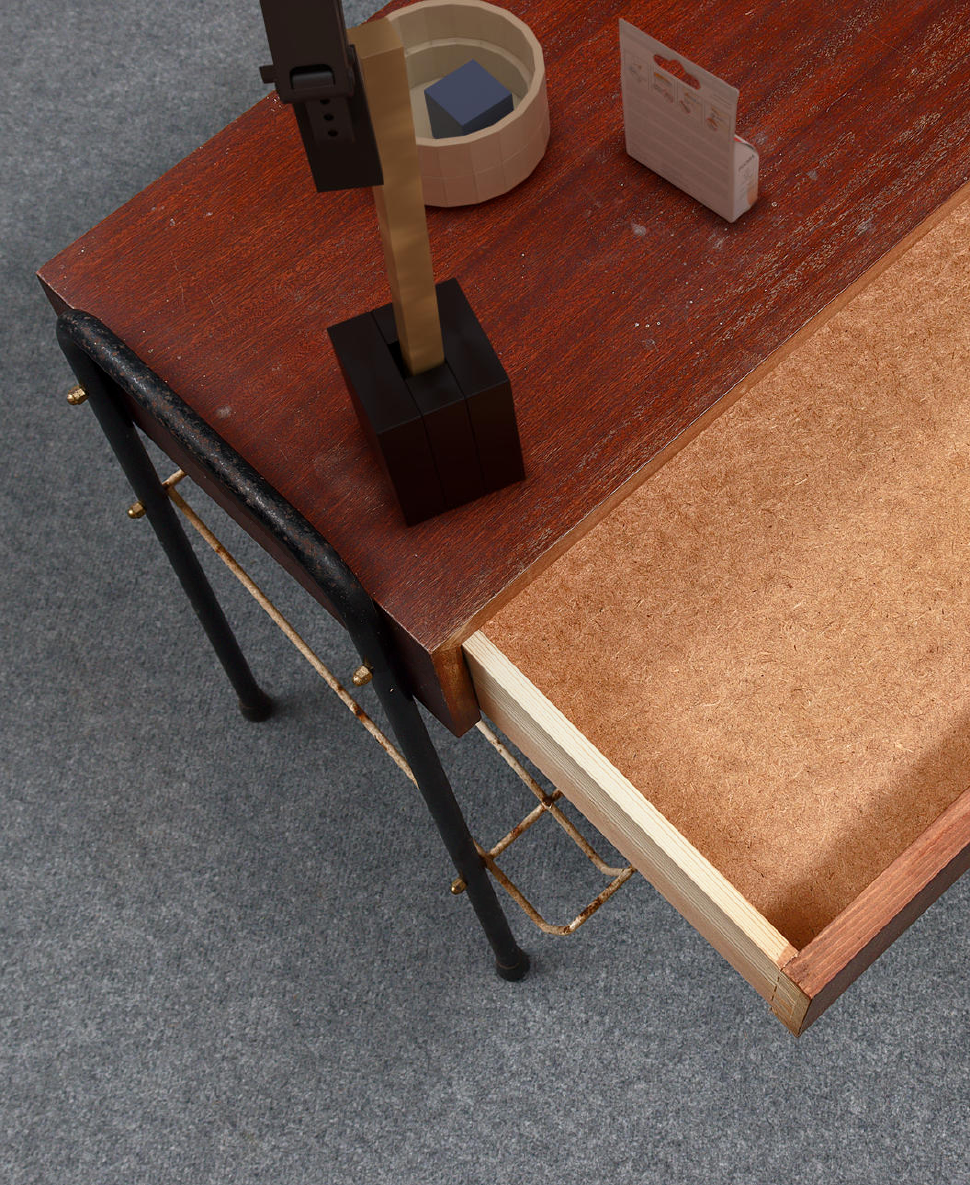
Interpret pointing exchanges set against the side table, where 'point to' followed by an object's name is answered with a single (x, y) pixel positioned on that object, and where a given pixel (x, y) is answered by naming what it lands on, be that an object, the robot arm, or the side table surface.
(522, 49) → the bowl
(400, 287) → the stick
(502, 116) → the block
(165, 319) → the side table surface
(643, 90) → the ink box
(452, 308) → the stand
